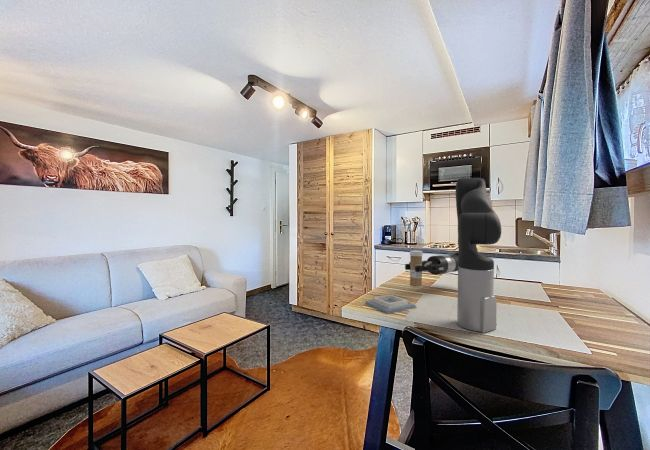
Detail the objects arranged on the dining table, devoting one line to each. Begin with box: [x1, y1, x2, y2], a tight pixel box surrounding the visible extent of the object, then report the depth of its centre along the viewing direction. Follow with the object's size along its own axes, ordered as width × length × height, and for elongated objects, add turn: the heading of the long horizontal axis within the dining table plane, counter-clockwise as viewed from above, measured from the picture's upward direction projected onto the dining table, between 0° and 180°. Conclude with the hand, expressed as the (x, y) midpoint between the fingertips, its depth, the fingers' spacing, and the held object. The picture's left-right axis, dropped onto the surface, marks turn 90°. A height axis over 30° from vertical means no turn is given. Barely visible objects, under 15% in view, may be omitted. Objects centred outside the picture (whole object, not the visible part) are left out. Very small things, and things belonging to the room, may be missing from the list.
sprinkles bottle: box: [409, 249, 423, 288], centre depth 105 cm, size 5×5×14 cm
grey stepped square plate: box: [365, 294, 417, 315], centre depth 99 cm, size 12×13×2 cm
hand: (410, 268), depth 104 cm, fingers closed on sprinkles bottle, 4 cm apart
